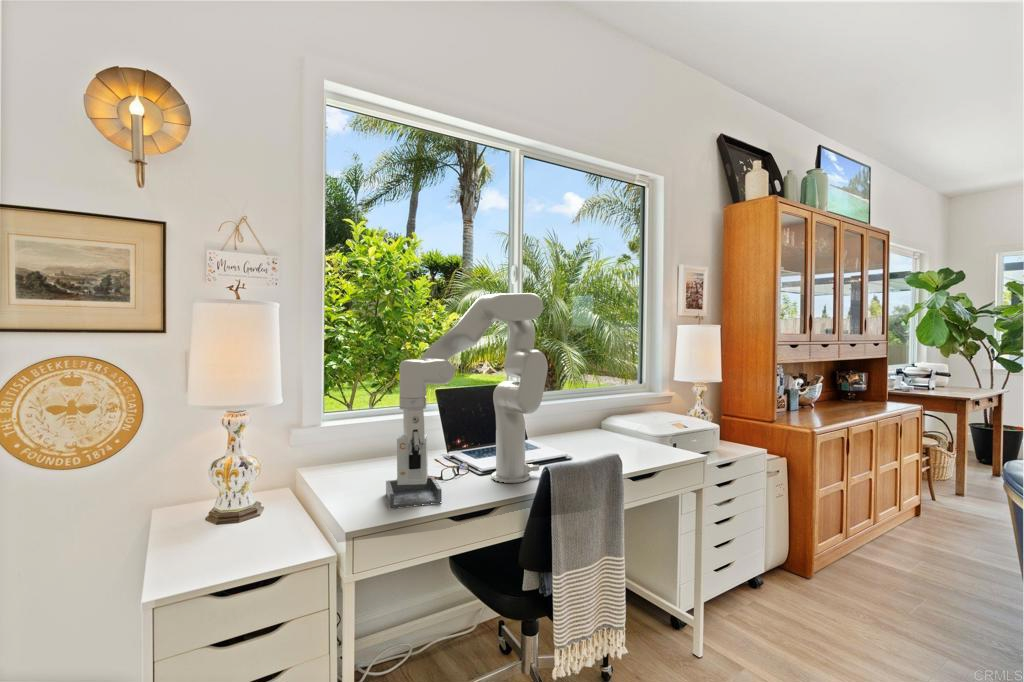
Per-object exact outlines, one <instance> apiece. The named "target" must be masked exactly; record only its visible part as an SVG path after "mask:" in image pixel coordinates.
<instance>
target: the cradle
mask: <svg viewBox="0 0 1024 682" xmlns="http://www.w3.org/2000/svg"><path fill="white" fill-rule="evenodd" d="M442 492H443V491H442V487H441V485H440V484H439V482H438V481H437V480H436V478H435V477H434V476H428V478H427V482H426V484H413V485H397V478H396V479H393V480H392V479H389V480H385V495H386V500H387V499H388V500H387V502H388V507H389V506H390V507H389V509H390V508H394V509H400V508H399V507H403V508H407V507H406V506H412V507H415V506H414V505H421V506H423V505H422V504H431V503H440V502H442V499H443V498H442ZM440 504H441V503H440ZM431 505H432V504H431Z"/></svg>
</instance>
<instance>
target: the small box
mask: <svg viewBox="0 0 1024 682" xmlns="http://www.w3.org/2000/svg"><path fill="white" fill-rule="evenodd" d="M419 440H420V439H419ZM411 443H414V441H412V442H411ZM413 447H414V446H413ZM413 447H412V448H413ZM420 454H421V468H420V469H411V470H410V469H409V455H410V447H409V445H408V444H407V440H406V438H405V436H404V434H400V435H399V436H398V437H397V439H396V462H397V463H396V468H397V469H396V470H397V471H396V472H397V473H396V475H397V477H396V479H397V485H413V484H426V482H427V478H428V477H429V476H428V470H429V469H428V464H429V463H428V433H427V434H425V443H424V444H423V443H421V442H420Z"/></svg>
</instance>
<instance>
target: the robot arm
mask: <svg viewBox="0 0 1024 682" xmlns="http://www.w3.org/2000/svg"><path fill="white" fill-rule="evenodd" d="M543 309H544V302H543V301H542V298H540V296H539V295H538V294H536V293H534V292H533V293H532V292H524V293H519V292H518V293H491V294H485V295H482V296H479V297H478V298H477V299H476V300H475V301H474V303H472V305H471V306H470V307H469V308H468V309H467V311H465V313H464V315H463V316H462V317H461V318H460V319H459V321H458V322H456V324H455V325H454V326H453V328H451V329H449V330H448V331H447V332H446V333H444V334H443V335H441V336H440V337H439V338H438V339H437V340H435V341H434V342H433V343H432V344H431V345H430V346H429V347H428V348H427V349H426V350H425V352H424V353H423V354H422V355H421V356H420V358H418V359H404V360H402V361H400V362H399V403H398V404H399V406H398V407H399V410H402V411H403V416H402V417H403V424H402V425H403V435H404V436H405V438H406V440H407V444H408V445H409V447H410V455H409V469H410V470H411V469H420V468H421V454H420V442H421V443H423V444H424V443H425V414H424V410H426V409H427V385H438V386H439V385H447V384H449V383H450V382H452V381H453V379H454V378H455V375H456V369H455V366H454V365H453V363H452V362H450V361H449V360H450V359H452V357H454V356H455V355H457V354H459V353H462V352H463V351H467V350H469V349H471V348H472V347H474V346H476V345H477V344H478V342H480V341H481V339H482V338H483V336H484V335H485V333H486V332H487V331H488V330H489V328H490V327H491V326H492V325H493V323H496V322H506V324H507V326H508V329H509V337H508V344H507V349H506V353H505V357H504V362H503V370H504V372H505V374H506V375H507V376H510V377H511V378H517V379H519V381H514V380H513V381H512V380H507V381H501V382H500V383H499V384H497V385H496V387H495V388H494V389H493V395H492V398H493V399H492V400H493V406H494V413H495V471H494V472H492V473H491V475H490V476H491V478H490V479H491V480H493V479H494V480H495V481H494V480H493V481H494V482H497V481H499V482H498V483H502V482H504V483H503V484H517V483H518V484H519V483H523V482H527V481H529V480H530V478H531V475H530V473H531V472H538V471H539V472H540V465H539V464H533V463H531V464H528V463H526V421H525V416H524V414H525V415H530V414H533V413H535V412H536V411H538V409H539V408H540V407H541V406H540V405H541V404H542V400H543V395H544V390H545V386H546V382H547V377H548V370H549V369H548V368H549V367H548V360H547V358H546V356H545V354H544V353H543V352H541V351H540V350H538V349H534V348H535V342H536V341H535V340H536V331H535V328H534V325H533V322H532V320H536V319H537V318H539V317H540V315H541V314H542V312H543ZM419 439H420V440H419ZM412 441H414V443H411V442H412ZM413 446H414V447H413ZM412 447H413V448H412Z"/></svg>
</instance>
